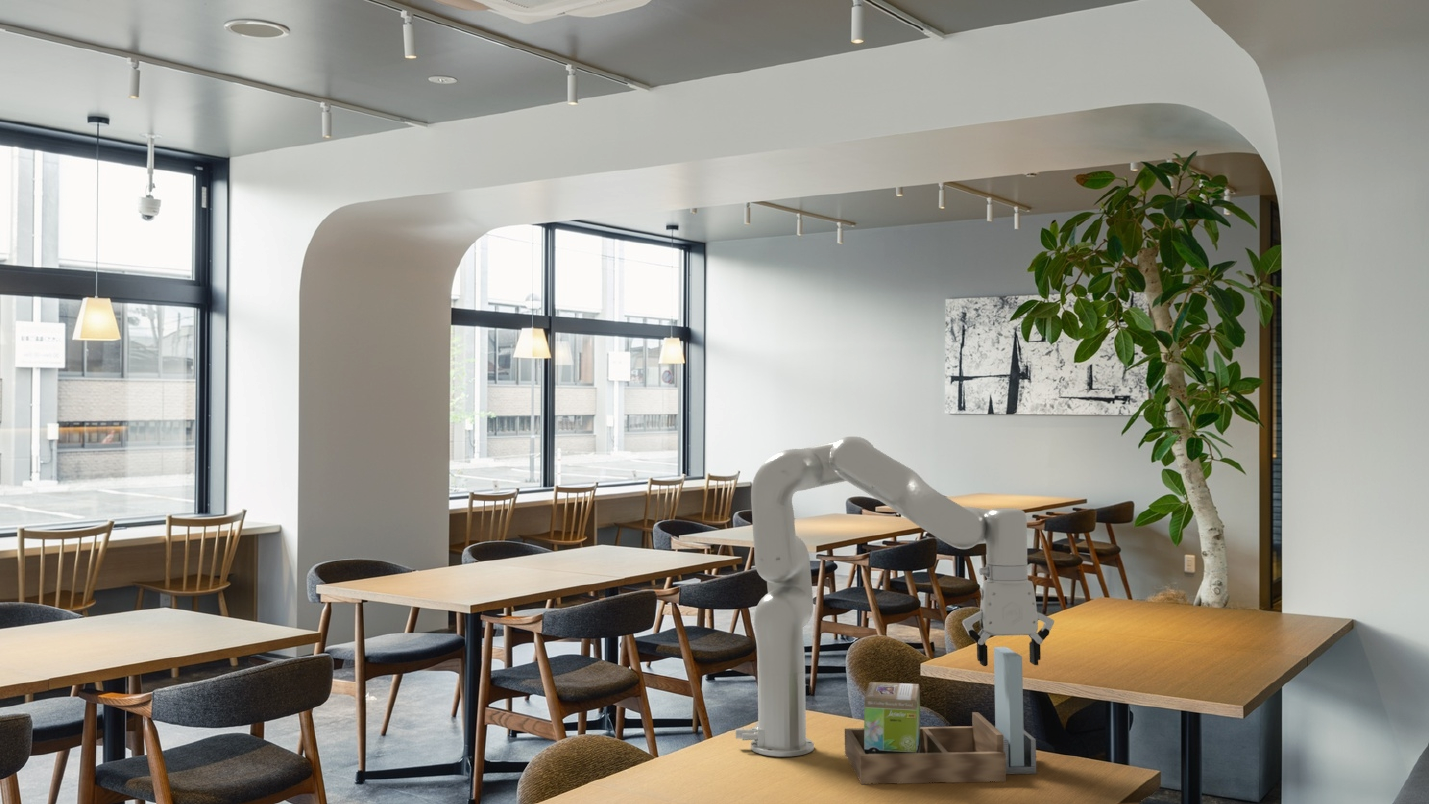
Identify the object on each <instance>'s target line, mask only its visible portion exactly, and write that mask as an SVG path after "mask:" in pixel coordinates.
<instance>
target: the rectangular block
mask: <svg viewBox="0 0 1429 804" xmlns="http://www.w3.org/2000/svg"><path fill="white" fill-rule="evenodd" d="M993 666H994V667H993V669H994V671H993V674H994V675H993V676H994V680H993V681H994V682H993V683H994V721H995V723H994V727H995V728H996V729H997V730H999V731H1000V732H1001V733H1002V734H1003V736H1004V737H1005V738H1007V739H1008V754H1009V765H1010V766H1024V732H1023V729H1024V696H1023V694H1024V689H1023V686H1024V684H1023V683H1024V681H1023V680H1024V679H1023V656H1022V655H1021V654H1019V653H1017V652H1015V651H1014V650H1012V649H1011V648H1009V647H1007V646H999V647H998V646H995V647H993Z"/></svg>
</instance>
